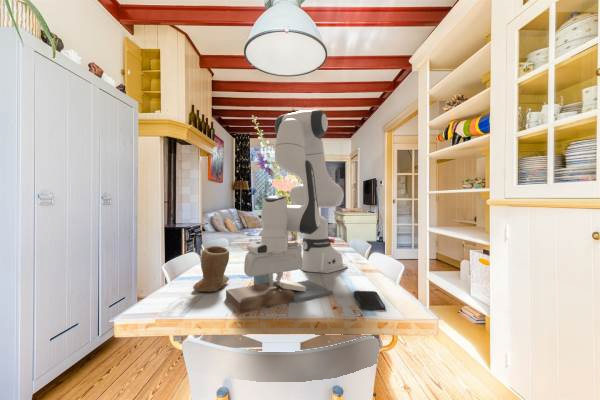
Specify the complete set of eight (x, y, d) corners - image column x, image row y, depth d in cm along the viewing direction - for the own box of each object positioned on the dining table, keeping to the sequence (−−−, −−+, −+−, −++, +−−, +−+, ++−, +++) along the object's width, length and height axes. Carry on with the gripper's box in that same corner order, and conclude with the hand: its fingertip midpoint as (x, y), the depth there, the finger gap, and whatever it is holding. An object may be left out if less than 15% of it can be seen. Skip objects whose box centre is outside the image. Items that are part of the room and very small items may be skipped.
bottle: (250, 286, 109) (250, 246, 109) (264, 282, 114) (264, 243, 114) (262, 290, 104) (262, 248, 104) (276, 286, 109) (276, 246, 109)
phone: (376, 291, 102) (386, 308, 87) (376, 294, 102) (386, 312, 87) (353, 290, 102) (359, 307, 87) (353, 294, 102) (359, 311, 88)
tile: (296, 286, 106) (297, 282, 106) (305, 291, 100) (306, 287, 101) (275, 283, 101) (276, 278, 101) (283, 288, 96) (284, 283, 96)
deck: (275, 289, 105) (275, 281, 105) (293, 301, 94) (293, 292, 94) (225, 299, 96) (225, 290, 96) (239, 313, 85) (239, 302, 85)
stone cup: (221, 295, 99) (221, 251, 99) (188, 293, 101) (188, 250, 101) (237, 281, 114) (237, 243, 114) (208, 280, 116) (208, 242, 116)
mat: (308, 282, 114) (308, 280, 114) (332, 294, 101) (332, 291, 101) (274, 289, 106) (274, 286, 106) (295, 302, 93) (295, 299, 93)
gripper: (296, 240, 106) (296, 278, 106) (242, 245, 95) (242, 288, 95) (306, 243, 100) (306, 283, 101) (249, 249, 90) (249, 294, 90)
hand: (274, 285), depth 98 cm, fingers closed
